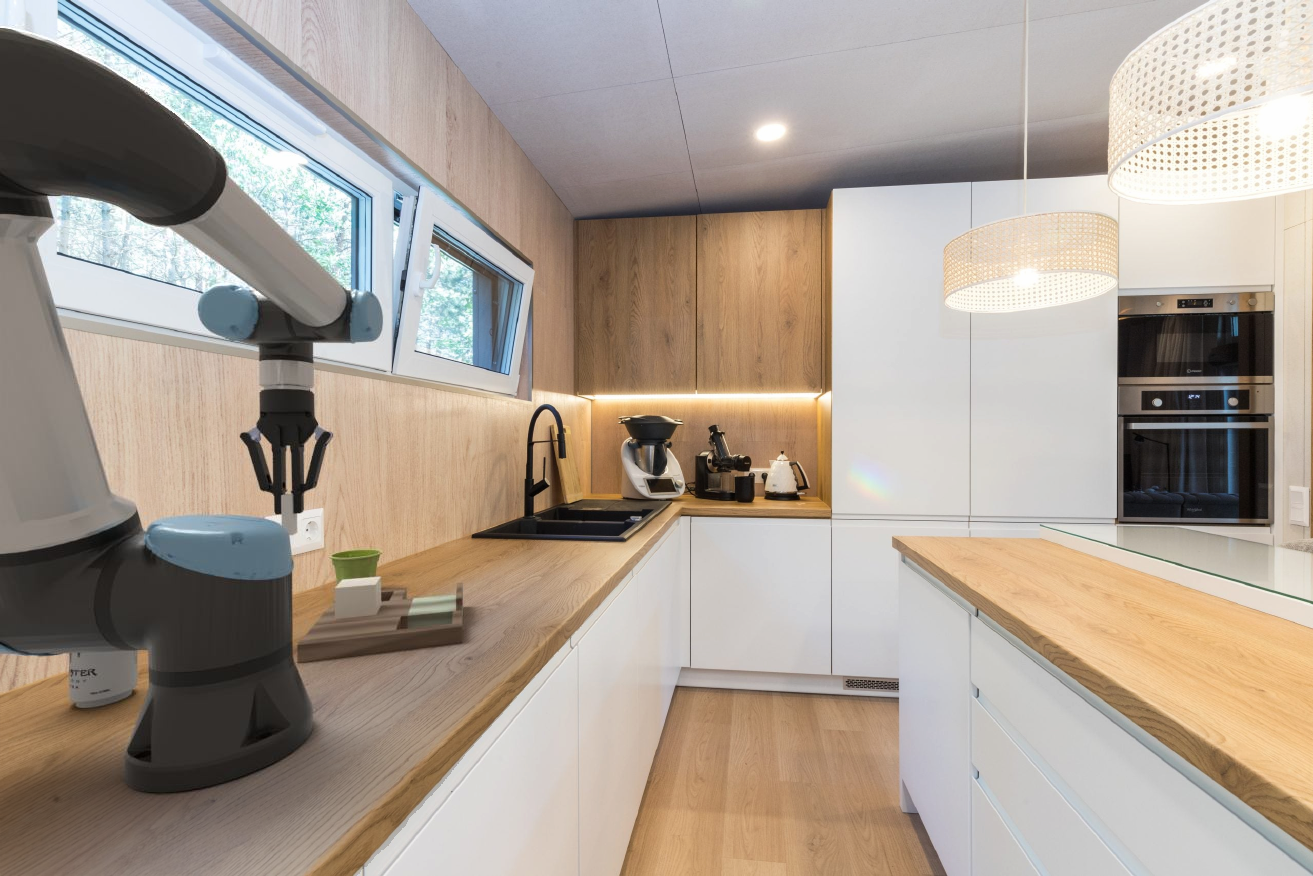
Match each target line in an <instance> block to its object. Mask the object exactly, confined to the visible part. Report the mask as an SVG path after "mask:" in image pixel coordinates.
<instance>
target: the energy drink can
mask: <svg viewBox="0 0 1313 876" xmlns="http://www.w3.org/2000/svg"><path fill="white" fill-rule="evenodd" d="M138 664H139V663H138V650H135V651H109V652H86V653H68V686H69V688H68V695H69V696H68V697H69V701H71V702H73V703H75V706H76V707H77V708H81V709H89V708H96V707H97V708H98V707H102V706H106V705H110V704H113V703H116V702H119V701H122V700H124V699H126V698H128V697H129V696H131V695H132V694H133V689H134V688H136V687H137V686H138V683H139V682H138V681H139V679H138V677H139V674H138V672H139V671H138V670H139V669H138Z"/></svg>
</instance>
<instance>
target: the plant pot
mask: <svg viewBox="0 0 1313 876" xmlns="http://www.w3.org/2000/svg"><path fill="white" fill-rule="evenodd" d="M382 554H383V552H382V550H380V549H372V548H365V549H363V548H361V549H349V550H342V551H338V552H333V553H331V554H330V555H329V559H331V562H332V565H333V567H334V572H335V578H336V584H337V585H338V584H339V583H340V582H341V581H342V580H345V579H357V578H369V577H377V575H376V574H377V570H378V569H377V568H378V562H379V561H380V556H381V555H382ZM337 585H336V586H337Z"/></svg>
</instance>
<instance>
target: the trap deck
mask: <svg viewBox="0 0 1313 876" xmlns="http://www.w3.org/2000/svg"><path fill="white" fill-rule="evenodd" d="M463 583H464V582H460V583H456V594H455V593H454V594H447V595H435V596H434V595H432V596H426V597H415V598H414V597H413V598H408V596H407V595H408V593H407V592H408V591H407V590H408V589H407V587H399V588H387V589H385V588H384V589H381V607H380V608H379V610H378V612H377V614H376V615H370V616H360V617H351V618H341V619H335V600H333V602H332V603H331V604H330V606H329V607H328V608H326V610H325V611H324V612H323V614H322V615H321V616H320V617H319V618H318V619H317V621H316V622H315V623H314V624H313V625H312V626H311V627H310V629H309V630H308V631H307V633H306V634H305V635H304V636H303V637H302V638H301V640H300V641H299V642H298V644H297V645H296V648H297V649H296V652H297V656H296V657H297V660H296V661H297V664H299V663H306V662H315V661H316V662H317V661H321V660H322V661H323V660H331V659H337V658H338V659H339V658H349V657H355V656H356V657H357V656H364V655H373V654H380V653H390V652H397V651H404V650H413V649H414V650H415V649H421V648H422V649H423V648H430V647H431V648H432V647H438V646H446V645H454V644H455V645H456V644H463V623H464V620H463V619H464V589H463V588H464V587H463V586H464V584H463Z"/></svg>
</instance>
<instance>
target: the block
mask: <svg viewBox="0 0 1313 876" xmlns="http://www.w3.org/2000/svg"><path fill="white" fill-rule="evenodd" d="M381 590H382V576H375V577H369V578H357V579H345V580H342V581H341V582H340V583H339V584H338V585H336V586H335V587H334V601H335V619H341V618H351V617H360V616H370V615H376V614H377V612H378V610H379V608H380V607H381Z"/></svg>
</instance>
